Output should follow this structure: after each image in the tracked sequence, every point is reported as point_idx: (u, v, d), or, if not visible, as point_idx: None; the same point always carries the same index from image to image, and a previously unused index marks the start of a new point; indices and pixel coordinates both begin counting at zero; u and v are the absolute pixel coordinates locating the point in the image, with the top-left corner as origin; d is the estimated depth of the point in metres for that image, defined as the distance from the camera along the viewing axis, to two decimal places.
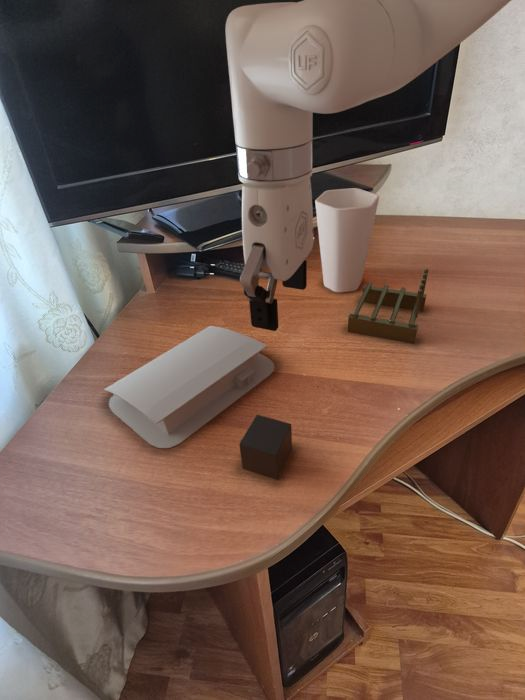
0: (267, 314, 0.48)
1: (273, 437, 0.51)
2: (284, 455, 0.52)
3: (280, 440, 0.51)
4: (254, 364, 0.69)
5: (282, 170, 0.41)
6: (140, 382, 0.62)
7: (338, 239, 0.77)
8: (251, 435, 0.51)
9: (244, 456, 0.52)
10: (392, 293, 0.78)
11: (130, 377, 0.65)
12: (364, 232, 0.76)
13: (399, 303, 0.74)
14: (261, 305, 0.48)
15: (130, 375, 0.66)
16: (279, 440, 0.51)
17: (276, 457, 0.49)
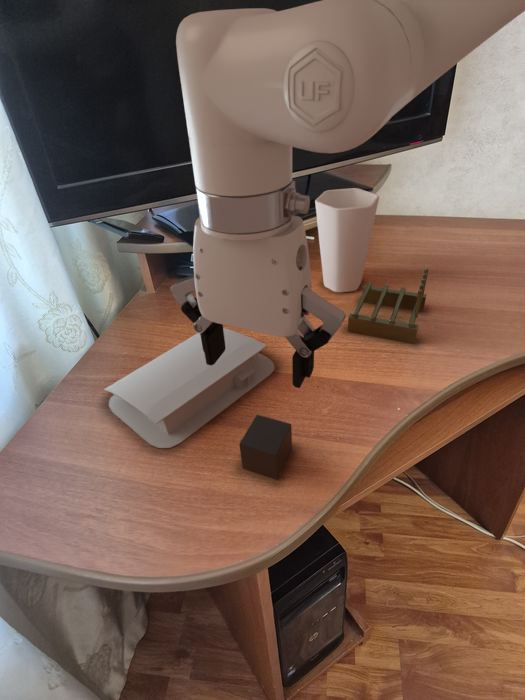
0: None
1: (273, 437, 0.51)
2: (284, 455, 0.52)
3: (280, 440, 0.51)
4: (254, 364, 0.69)
5: None
6: (140, 382, 0.62)
7: (338, 239, 0.77)
8: (251, 435, 0.51)
9: (244, 456, 0.52)
10: (392, 293, 0.78)
11: (130, 377, 0.65)
12: (364, 232, 0.76)
13: (399, 303, 0.74)
14: (312, 350, 0.41)
15: (130, 375, 0.66)
16: (279, 440, 0.51)
17: (276, 457, 0.49)
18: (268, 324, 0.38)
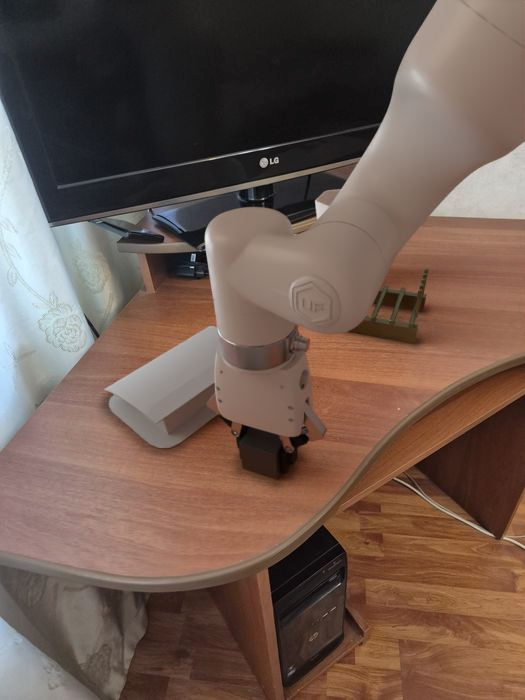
0: (296, 447, 0.52)
1: (273, 437, 0.51)
2: None
3: (280, 440, 0.51)
4: None
5: None
6: (140, 382, 0.62)
7: None
8: (251, 435, 0.51)
9: (244, 456, 0.52)
10: (392, 293, 0.78)
11: (130, 377, 0.65)
12: None
13: (399, 303, 0.74)
14: None
15: (130, 375, 0.66)
16: (279, 440, 0.51)
17: (276, 457, 0.49)
18: (277, 427, 0.46)
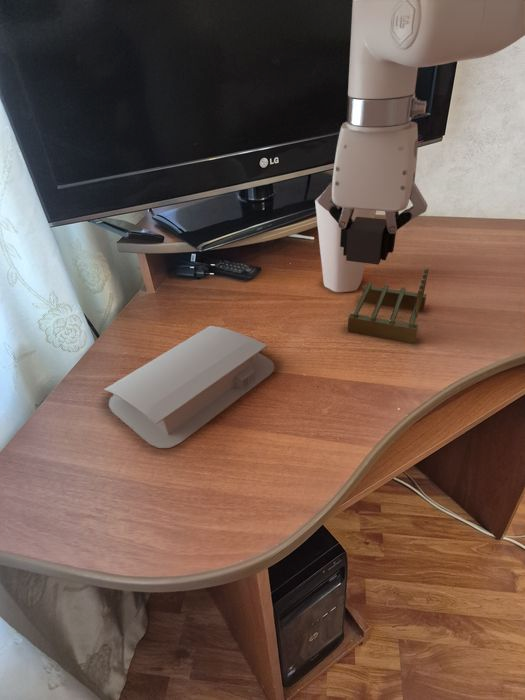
0: None
1: (376, 226, 0.60)
2: None
3: (383, 226, 0.59)
4: (254, 364, 0.69)
5: None
6: (140, 382, 0.62)
7: (338, 239, 0.77)
8: (356, 225, 0.60)
9: (350, 244, 0.60)
10: (392, 293, 0.78)
11: (130, 377, 0.65)
12: None
13: (399, 303, 0.74)
14: (395, 231, 0.60)
15: (130, 375, 0.66)
16: (381, 226, 0.59)
17: (381, 236, 0.58)
18: (388, 200, 0.55)
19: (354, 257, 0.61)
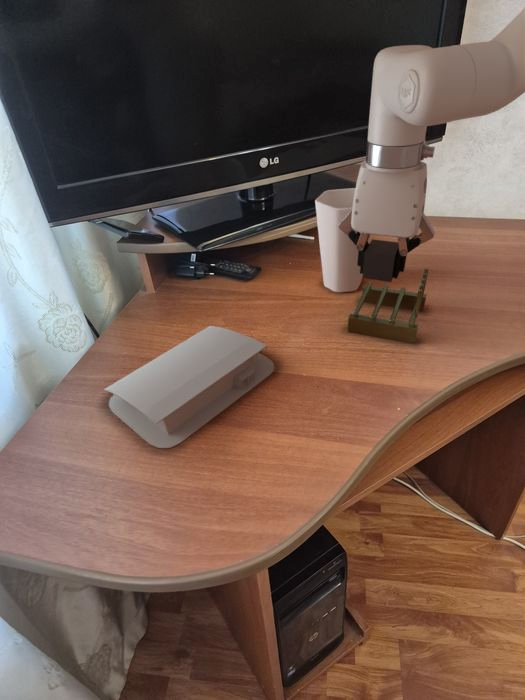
0: (404, 259, 0.70)
1: (389, 248, 0.68)
2: None
3: (395, 249, 0.68)
4: (254, 364, 0.69)
5: None
6: (140, 382, 0.62)
7: (338, 239, 0.77)
8: (372, 248, 0.69)
9: (366, 264, 0.69)
10: (392, 293, 0.78)
11: (130, 377, 0.65)
12: None
13: (399, 303, 0.74)
14: None
15: (130, 375, 0.66)
16: (394, 249, 0.68)
17: (394, 258, 0.67)
18: (400, 228, 0.64)
19: (370, 275, 0.70)
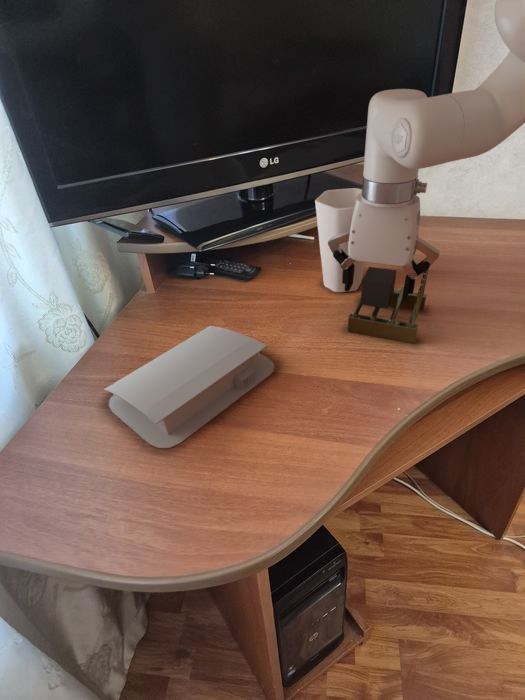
0: None
1: (386, 276, 0.71)
2: (391, 292, 0.73)
3: (391, 277, 0.71)
4: (254, 364, 0.69)
5: None
6: (140, 382, 0.62)
7: None
8: (369, 276, 0.72)
9: (364, 291, 0.72)
10: None
11: (130, 377, 0.65)
12: None
13: (399, 303, 0.74)
14: None
15: (130, 375, 0.66)
16: (390, 277, 0.71)
17: (390, 286, 0.70)
18: (395, 258, 0.67)
19: (367, 302, 0.73)
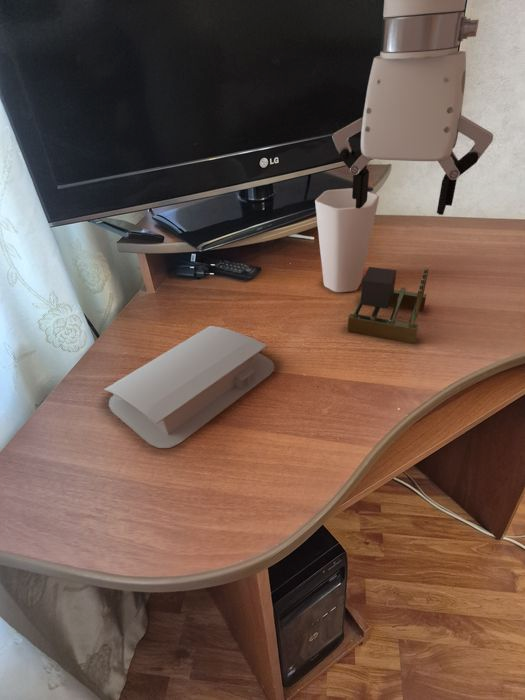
0: None
1: (386, 276, 0.71)
2: (391, 292, 0.73)
3: (391, 277, 0.71)
4: (254, 364, 0.69)
5: None
6: (140, 382, 0.62)
7: (338, 239, 0.77)
8: (369, 276, 0.72)
9: (364, 291, 0.72)
10: None
11: (130, 377, 0.65)
12: (364, 232, 0.76)
13: (399, 303, 0.74)
14: (456, 179, 0.50)
15: (130, 375, 0.66)
16: (390, 277, 0.71)
17: (390, 286, 0.70)
18: (428, 147, 0.47)
19: (367, 302, 0.73)
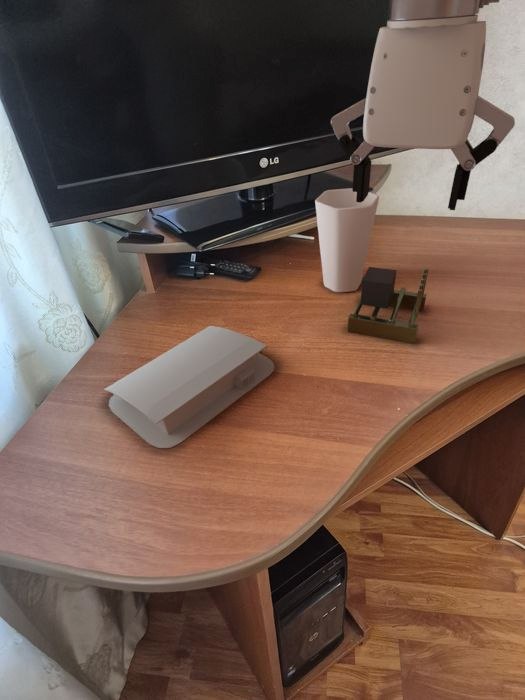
0: None
1: (386, 276, 0.71)
2: (391, 292, 0.73)
3: (391, 277, 0.71)
4: (254, 364, 0.69)
5: None
6: (140, 382, 0.62)
7: (338, 239, 0.77)
8: (369, 276, 0.72)
9: (364, 291, 0.72)
10: None
11: (130, 377, 0.65)
12: (364, 232, 0.76)
13: (399, 303, 0.74)
14: None
15: (130, 375, 0.66)
16: (390, 277, 0.71)
17: (390, 286, 0.70)
18: (440, 132, 0.41)
19: (367, 302, 0.73)
